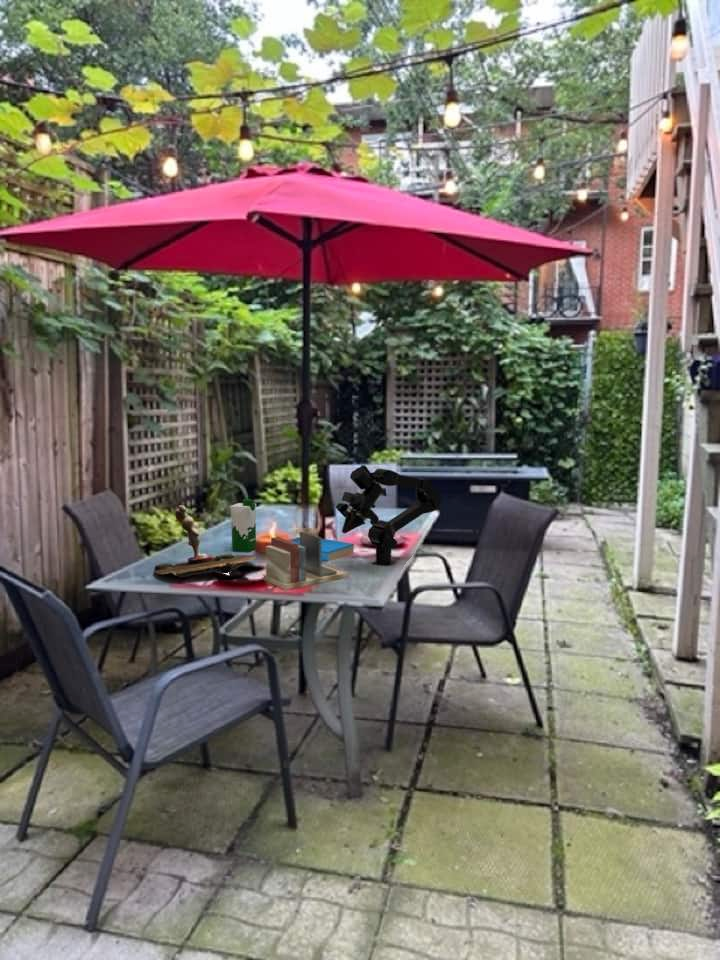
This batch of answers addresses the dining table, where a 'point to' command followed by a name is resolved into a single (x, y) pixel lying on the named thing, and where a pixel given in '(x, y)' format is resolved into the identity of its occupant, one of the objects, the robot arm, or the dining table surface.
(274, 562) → the book shelf
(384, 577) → the dining table surface
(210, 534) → the dining table surface
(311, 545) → the bookend
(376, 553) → the robot arm
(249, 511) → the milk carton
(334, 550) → the book
